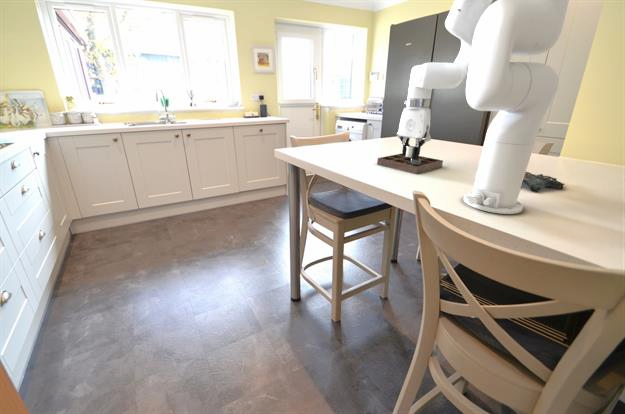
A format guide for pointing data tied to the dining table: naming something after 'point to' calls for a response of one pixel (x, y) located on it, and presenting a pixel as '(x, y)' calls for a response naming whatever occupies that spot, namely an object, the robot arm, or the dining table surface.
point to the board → (404, 163)
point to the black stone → (415, 161)
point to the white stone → (409, 151)
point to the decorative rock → (540, 181)
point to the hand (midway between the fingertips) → (410, 155)
